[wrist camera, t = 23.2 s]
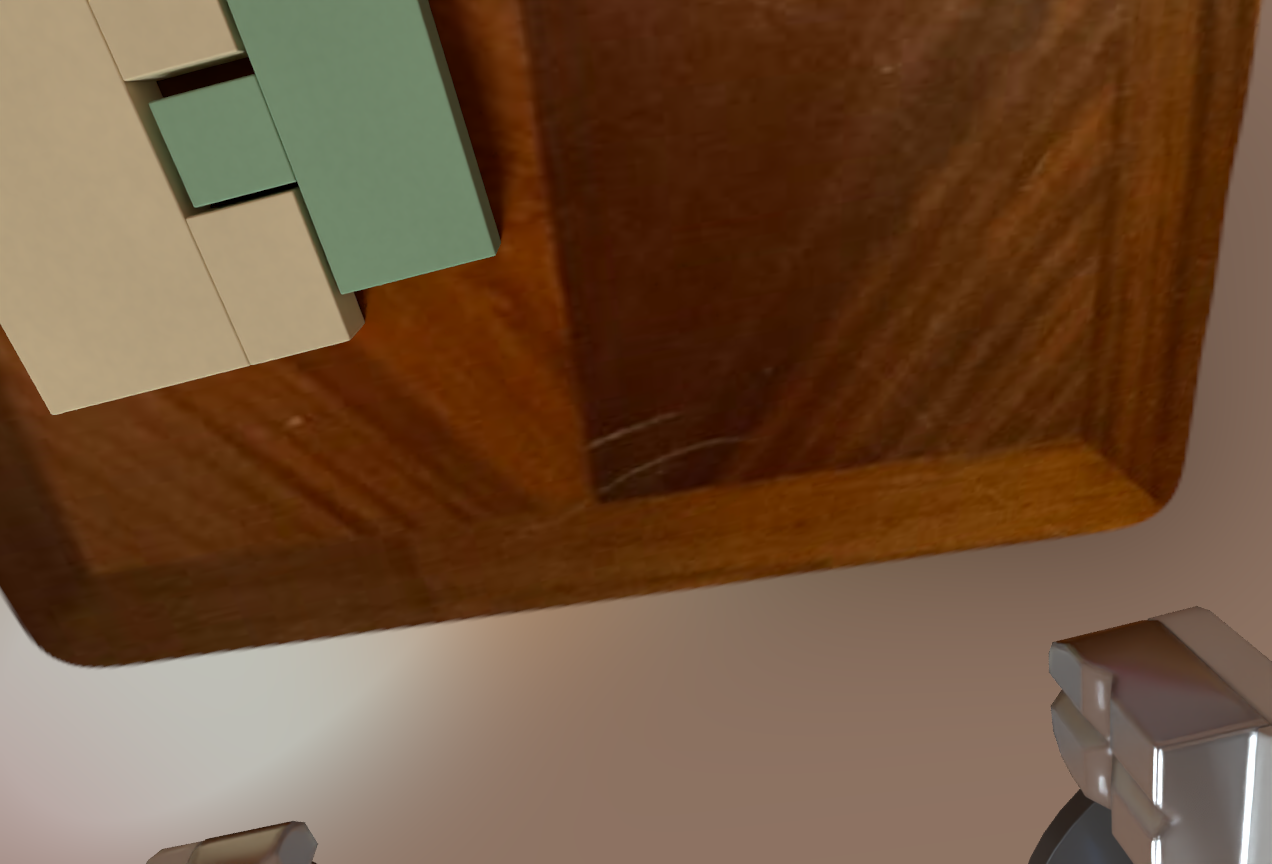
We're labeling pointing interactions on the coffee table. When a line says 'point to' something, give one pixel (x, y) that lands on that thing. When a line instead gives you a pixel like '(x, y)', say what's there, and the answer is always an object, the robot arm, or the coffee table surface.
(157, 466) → the coffee table surface
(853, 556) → the coffee table surface
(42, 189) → the beige pad
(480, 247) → the green pad
